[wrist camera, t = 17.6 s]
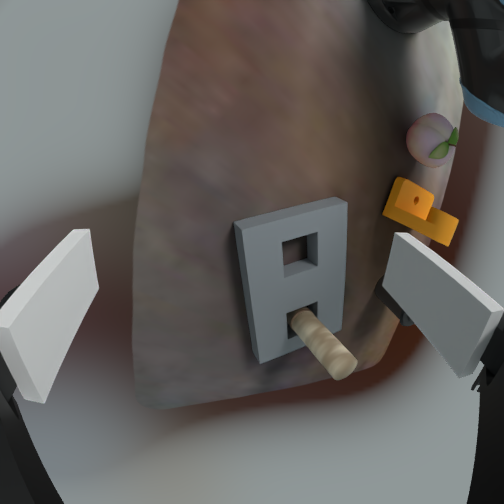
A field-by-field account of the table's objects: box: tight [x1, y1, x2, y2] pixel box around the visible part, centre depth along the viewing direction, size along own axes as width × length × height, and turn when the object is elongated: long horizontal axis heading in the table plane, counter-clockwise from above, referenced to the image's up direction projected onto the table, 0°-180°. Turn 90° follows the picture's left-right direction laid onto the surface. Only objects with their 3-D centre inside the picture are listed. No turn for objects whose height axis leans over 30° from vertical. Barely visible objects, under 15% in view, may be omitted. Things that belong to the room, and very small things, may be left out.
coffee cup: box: [375, 275, 414, 326], centre depth 55 cm, size 8×8×10 cm
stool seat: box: [233, 197, 347, 364], centre depth 48 cm, size 24×16×3 cm, turn 6°
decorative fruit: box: [406, 113, 458, 168], centre depth 43 cm, size 9×8×10 cm
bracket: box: [382, 177, 459, 246], centre depth 47 cm, size 11×7×12 cm, turn 70°
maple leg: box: [286, 306, 357, 380], centre depth 46 cm, size 4×4×15 cm
